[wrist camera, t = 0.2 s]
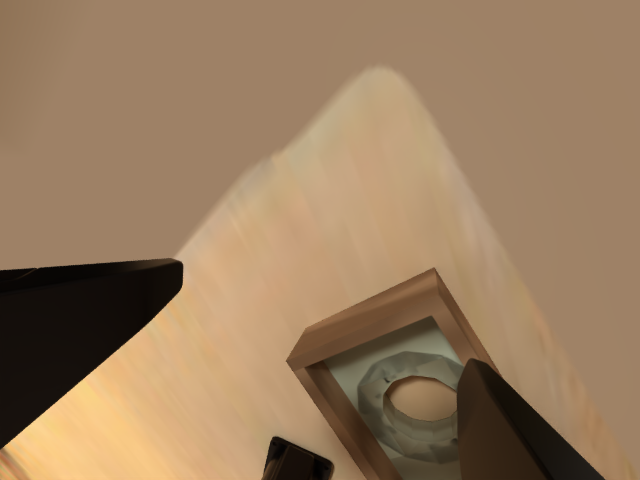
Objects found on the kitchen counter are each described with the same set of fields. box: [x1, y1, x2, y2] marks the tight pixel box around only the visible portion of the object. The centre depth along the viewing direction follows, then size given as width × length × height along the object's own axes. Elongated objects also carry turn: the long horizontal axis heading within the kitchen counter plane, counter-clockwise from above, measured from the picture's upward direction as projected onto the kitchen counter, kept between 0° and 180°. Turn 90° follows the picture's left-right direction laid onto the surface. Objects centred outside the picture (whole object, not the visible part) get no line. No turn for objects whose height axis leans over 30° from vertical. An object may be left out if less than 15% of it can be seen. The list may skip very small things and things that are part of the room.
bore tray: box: [286, 268, 503, 480], centre depth 23 cm, size 18×12×4 cm, turn 35°
